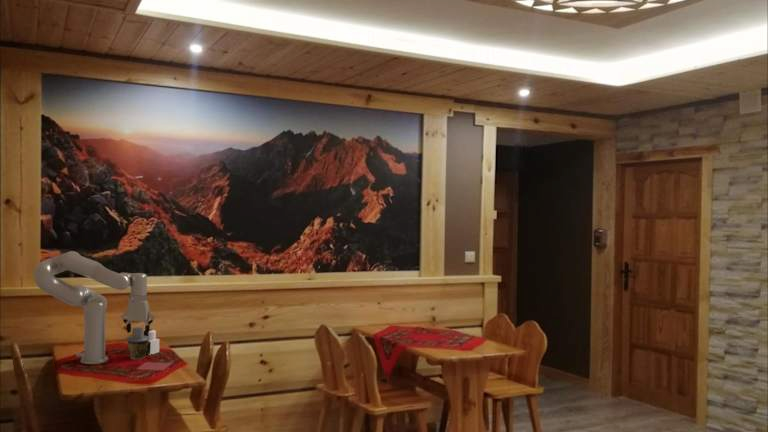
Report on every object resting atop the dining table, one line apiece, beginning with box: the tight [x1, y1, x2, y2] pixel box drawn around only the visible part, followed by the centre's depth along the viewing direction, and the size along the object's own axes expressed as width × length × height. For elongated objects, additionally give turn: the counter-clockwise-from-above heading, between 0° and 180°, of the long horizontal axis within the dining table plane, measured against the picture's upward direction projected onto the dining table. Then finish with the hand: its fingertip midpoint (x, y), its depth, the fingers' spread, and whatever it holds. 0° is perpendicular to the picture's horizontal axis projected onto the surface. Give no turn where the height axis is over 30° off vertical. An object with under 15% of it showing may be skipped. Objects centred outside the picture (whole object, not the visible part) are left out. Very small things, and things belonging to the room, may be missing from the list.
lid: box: [125, 326, 149, 343], centre depth 339 cm, size 11×11×6 cm
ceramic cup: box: [127, 340, 149, 361], centre depth 339 cm, size 13×10×10 cm
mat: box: [136, 361, 173, 371], centre depth 326 cm, size 13×13×1 cm
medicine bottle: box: [143, 329, 160, 356], centre depth 353 cm, size 7×7×12 cm
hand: (138, 332), depth 339 cm, fingers open, 8 cm apart
